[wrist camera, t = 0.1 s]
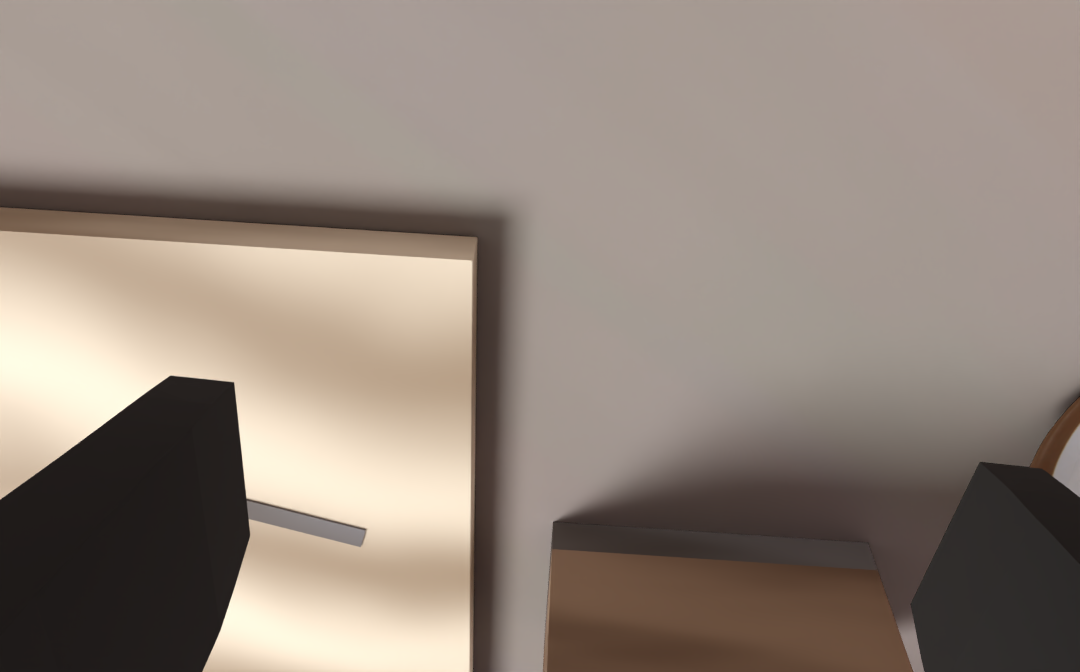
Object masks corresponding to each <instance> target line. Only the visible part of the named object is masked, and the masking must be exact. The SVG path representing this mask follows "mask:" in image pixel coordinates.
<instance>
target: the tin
mask: <svg viewBox="0 0 1080 672" xmlns="http://www.w3.org/2000/svg"><path fill="white" fill-rule="evenodd" d="M1030 467H1031V468H1041V469H1043V470H1045V471H1046V472H1047V473H1049V474H1050V475H1051V476H1053V477H1054V478H1055V479H1057V480H1058V481H1060V482H1061V483H1062V484H1064V485H1065V486H1066V487H1067V488H1069V489H1070V490H1071V491H1072V492H1074V493H1075V494H1076V495H1078V496H1079V497H1080V397H1079V398H1078V399H1077V400H1076V401H1075V402H1074V403H1073V404H1072V405H1071V406H1070V407H1069V408H1068V409H1067V410H1066V411H1065V413H1064V414H1063V415H1062V416H1061V417H1060V418H1059V420H1058V421H1057V422H1056V423H1055V425H1054V426H1053V427H1052V429H1051V430H1050V431H1049V432H1048V434H1047V435H1046V437H1045V438H1044V440H1043V442H1042V444H1041V445H1040V447H1039V449H1038V451H1037V453H1036V455H1035V457H1034V459H1033V461H1032V463H1031V465H1030Z"/></svg>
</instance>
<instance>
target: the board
mask: <svg viewBox="0 0 1080 672" xmlns="http://www.w3.org/2000/svg"><path fill="white" fill-rule="evenodd" d="M476 331H477V237H466V236H450V235H434V234H418V233H402V232H386V231H370V230H354V229H338V228H323V227H307V226H291V225H275V224H259V223H243V222H227V221H211V220H195V219H179V218H164V217H148V216H132V215H116V214H100V213H84V212H68V211H52V210H36V209H20V208H4V207H0V499H2V498H3V497H5V496H6V495H7V494H9V493H10V492H11V491H13V490H14V489H16V488H17V487H18V486H20V485H21V484H23V483H24V482H25V481H27V480H28V479H30V478H31V477H32V476H34V475H35V474H36V473H38V472H39V471H41V470H42V469H43V468H45V467H46V466H48V465H49V464H50V463H52V462H53V461H55V460H56V459H57V458H59V457H60V456H61V455H63V454H64V453H65V452H67V451H68V450H70V449H71V448H72V447H74V446H75V445H76V444H78V443H79V442H80V441H82V440H83V439H84V438H86V437H87V436H88V435H90V434H91V433H92V432H94V431H95V430H97V429H98V428H99V427H101V426H102V425H103V424H105V423H106V422H107V421H109V420H110V419H111V418H113V417H114V416H115V415H117V414H118V413H119V412H121V411H122V410H123V409H125V408H126V407H127V406H129V405H130V404H131V403H133V402H134V401H135V400H137V399H138V398H139V397H141V396H142V395H144V394H145V393H146V392H148V391H149V390H150V389H152V388H153V387H155V386H156V385H157V384H159V383H160V382H162V381H163V380H165V379H166V378H168V377H169V376H170V375H171V376H181V377H190V378H199V379H209V380H218V381H227V382H234V385H235V394H236V404H237V413H238V423H239V432H240V442H241V451H242V461H243V470H244V480H245V489H246V499H247V508H248V518H249V527H250V538H249V542H248V545H247V548H246V552H245V555H244V558H243V562H242V565H241V568H240V571H239V575H238V578H237V581H236V585H235V588H234V591H233V594H232V597H231V600H230V603H229V606H228V609H227V612H226V615H225V619H224V622H223V625H222V628H221V631H220V633H219V635H218V638H217V640H216V642H215V644H214V647H213V649H212V651H211V654H210V656H209V658H208V660H207V663H206V665H205V667H204V669H203V671H202V672H473V615H474V520H475V426H476Z"/></svg>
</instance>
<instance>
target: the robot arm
mask: <svg viewBox="0 0 1080 672" xmlns="http://www.w3.org/2000/svg"><path fill="white" fill-rule="evenodd" d="M249 538H250V527H249V518H248V508H247V499H246V489H245V480H244V470H243V461H242V451H241V442H240V432H239V423H238V413H237V404H236V394H235V385H234V382H227V381H218V380H209V379H199V378H190V377H181V376H171V375H170V376H169V377H168V378H166V379H165V380H163V381H162V382H160V383H159V384H157V385H156V386H155V387H153V388H152V389H150V390H149V391H148V392H146V393H145V394H144V395H142V396H141V397H139V398H138V399H137V400H135V401H134V402H133V403H131V404H130V405H129V406H127V407H126V408H125V409H123V410H122V411H121V412H119V413H118V414H117V415H115V416H114V417H113V418H111V419H110V420H109V421H107V422H106V423H105V424H103V425H102V426H101V427H99V428H98V429H97V430H95V431H94V432H92V433H91V434H90V435H88V436H87V437H86V438H84V439H83V440H82V441H80V442H79V443H78V444H76V445H75V446H74V447H72V448H71V449H70V450H68V451H67V452H65V453H64V454H63V455H61V456H60V457H59V458H57V459H56V460H55V461H53V462H52V463H50V464H49V465H48V466H46V467H45V468H43V469H42V470H41V471H39V472H38V473H36V474H35V475H34V476H32V477H31V478H30V479H28V480H27V481H25V482H24V483H23V484H21V485H20V486H18V487H17V488H16V489H14V490H13V491H11V492H10V493H9V494H7V495H6V496H5V497H3V498H2V499H0V672H202V671H203V669H204V667H205V665H206V663H207V660H208V658H209V656H210V654H211V651H212V649H213V647H214V644H215V642H216V640H217V638H218V635H219V633H220V631H221V628H222V625H223V622H224V619H225V615H226V612H227V609H228V606H229V603H230V600H231V597H232V594H233V591H234V588H235V585H236V581H237V578H238V575H239V571H240V568H241V565H242V562H243V558H244V555H245V552H246V548H247V545H248V542H249ZM911 608H912V613H913V618H914V623H915V628H916V633H917V638H918V643H919V649H920V654H921V659H922V663H923V667H924V671H925V672H1080V497H1079V496H1078V495H1076V494H1075V493H1074V492H1072V491H1071V490H1070V489H1069V488H1067V487H1066V486H1065V485H1064V484H1062V483H1061V482H1060V481H1058V480H1057V479H1055V478H1054V477H1053V476H1051V475H1050V474H1049V473H1047V472H1046V471H1045V470H1043V469H1041V468H1031V467H1022V466H1013V465H1003V464H994V463H985V462H980V463H979V465H978V467H977V469H976V471H975V473H974V475H973V477H972V479H971V481H970V483H969V485H968V487H967V489H966V491H965V493H964V495H963V498H962V500H961V502H960V504H959V506H958V508H957V510H956V512H955V514H954V516H953V518H952V520H951V522H950V524H949V526H948V528H947V530H946V533H945V535H944V537H943V539H942V541H941V543H940V545H939V547H938V549H937V551H936V553H935V555H934V557H933V559H932V561H931V563H930V566H929V568H928V570H927V572H926V574H925V576H924V578H923V580H922V582H921V584H920V586H919V588H918V590H917V592H916V594H915V596H914V598H913V601H912V603H911Z"/></svg>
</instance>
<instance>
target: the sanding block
mask: <svg viewBox="0 0 1080 672" xmlns="http://www.w3.org/2000/svg"><path fill="white" fill-rule="evenodd" d="M543 672H913V670H912V667H911V664H910V661H909V658H908V656H907V653H906V650H905V647H904V644H903V641H902V638H901V636H900V633H899V630H898V627H897V624H896V621H895V618H894V615H893V613H892V610H891V607H890V604H889V601H888V598H887V595H886V593H885V590H884V587H883V584H882V581H881V578H880V575H879V572H878V570H877V567H876V564H875V561H874V558H873V555H872V552H871V550H870V547H869V544H868V543H863V542H848V541H833V540H818V539H803V538H788V537H773V536H758V535H743V534H728V533H712V532H697V531H682V530H667V529H652V528H637V527H622V526H607V525H592V524H577V523H562V522H553V530H552V543H551V556H550V569H549V582H548V595H547V608H546V621H545V640H544V662H543Z"/></svg>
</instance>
